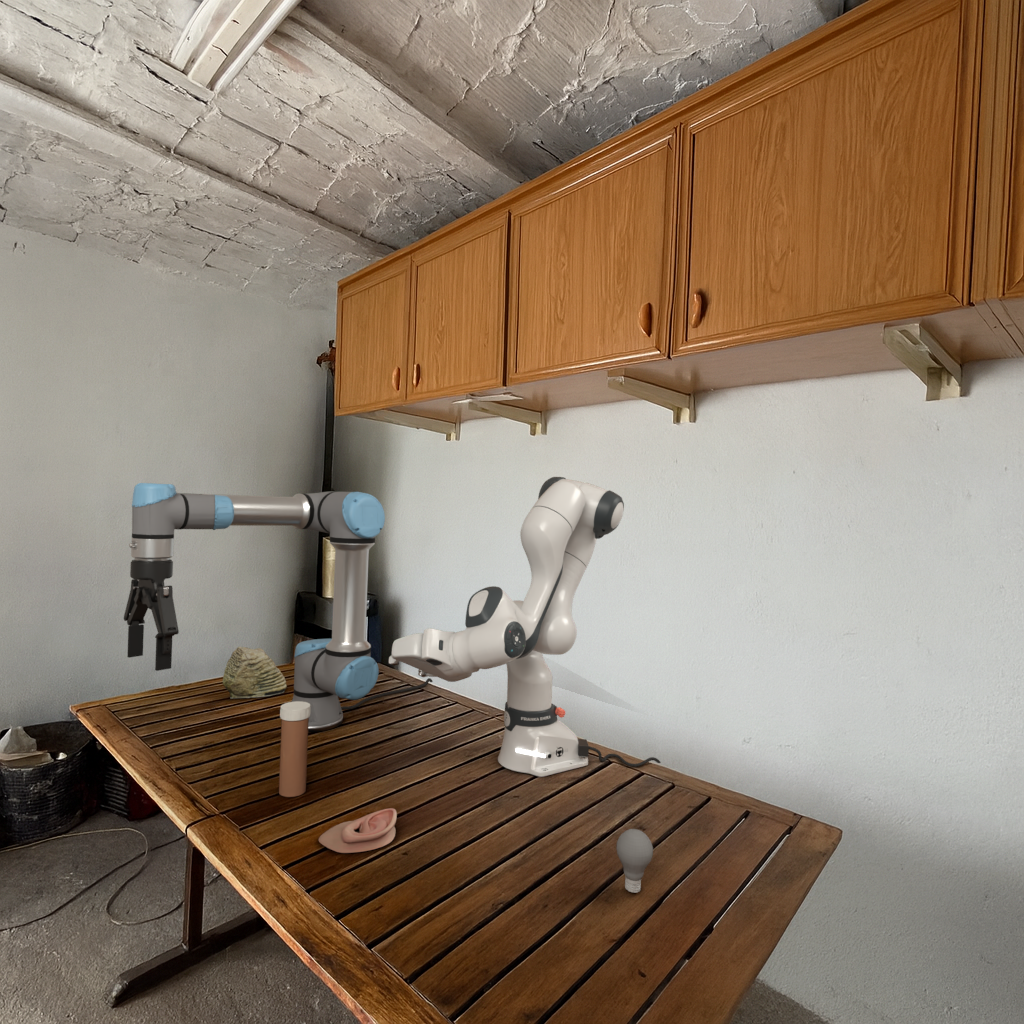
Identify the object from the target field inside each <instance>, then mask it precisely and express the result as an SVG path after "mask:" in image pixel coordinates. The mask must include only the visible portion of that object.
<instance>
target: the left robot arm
mask: <svg viewBox="0 0 1024 1024" xmlns="http://www.w3.org/2000/svg"><path fill="white" fill-rule="evenodd" d="M385 515H386V513H385V511H384V508H383V505H382V503H381V502H380V501H379V500H378V498H377V497H375V495H373V494H370V493H367V492H363V491H362V492H361V491H337V490H336V491H335V490H333V491H332V490H330V491H321V492H311V493H295V494H294V495H293V496H276V495H275V496H274V495H273V496H272V495H248V494H247V495H246V494H244V495H243V494H220V493H219V494H218V493H217V494H216V493H215V494H214V493H189V492H187V493H186V492H177V491H176V486H175V485H174V484H173V483H152V482H139V483H137V484H136V485H135V486H134V488H133V492H132V501H131V520H132V521H131V542H130V543H128V547H129V548H130V549H131V550H130V556H131V558H133V559H132V560H131V561H130V567H129V568H130V571H129V574H130V575H129V576H130V578H131V581H130V590H129V594H128V598H127V603H126V607H125V610H124V615H123V621H124V622H126V624H127V626H128V629H127V630H128V631H127V658H135V657H142V656H144V635H145V634H144V630H145V625H144V624H145V623H146V621H145V619H144V618H145V616H146V615H147V612H148V609H149V610H151V613H152V618H153V620H154V624H155V627H156V631H157V633H156V635H155V636H154V638H155V661H154V663H155V665H154V668H155V669H154V670H155V671H157V672H159V671H164V670H169V669H172V659H173V657H172V655H173V637H175V636H176V635H179V632H180V631H179V625H178V619H177V615H176V614H177V613H176V609H175V603H174V597H173V595H174V593H173V585H165V580H167V579H171V578H172V577H173V575H174V573H173V572H174V561H173V560H172V559H171V558H173V557H174V554H175V553H174V552H175V530H213V531H215V530H224V529H228V528H230V526H233V527H234V526H237V527H238V526H240V527H243V526H246V527H247V526H249V527H250V526H258V527H259V526H268V527H269V526H276V527H277V526H282V527H284V526H285V527H286V526H287V527H288V526H289V527H290V526H291V527H293V528H294V529H296V530H308V531H309V530H310V531H316V532H319V533H325V534H329V544H330V545H331V546H332V547H333V548H334V550H335V551H334V572H333V573H334V577H333V599H332V625H331V626H332V627H331V638H317V639H308V640H304V641H300V642H299V643H297V645H296V646H295V650H294V655H293V657H294V672H293V673H294V674H293V695H292V696H293V697H292V699H291V702H295V701H302V702H307V703H309V704H310V707H311V710H310V716H309V723H308V733H316V732H325V731H329V730H332V729H335V728H337V727H339V726H340V725H342V723H343V722H344V714H343V711H345V710H346V711H347V710H350V711H351V710H353V709H354V710H355V709H356V708H358V707H359V706H361V705H362V704H364V703H366V702H368V701H369V702H370V701H372V700H374V699H377V698H381V697H386V696H390V695H394V694H400V693H405V692H410V691H414V690H418V689H422V688H424V687H425V686H427V685H428V684H429V683H433V682H434V681H433V680H432V678H431V677H429V678H427V679H426V680H425V681H424V683H421V684H419V685H415V686H411V687H406V688H402V689H401V688H400V689H395V690H389V691H386V692H381V693H377V694H374V695H371V696H369V697H366V698H364V697H365V696H367V695H368V694H370V692H371V690H372V689H374V687H375V685H376V683H377V682H378V678H379V674H380V672H379V671H380V670H379V669H380V668H379V665H378V663H377V662H376V660H375V659H374V657H371V652H372V649H371V648H372V644H371V643H370V642H368V640H367V639H366V631H367V607H368V606H367V605H368V604H367V602H368V582H369V581H368V579H369V555H370V553H369V552H370V550H371V548H372V547H374V545H375V544H376V536H378V535H379V534H380V533H381V530H383V528H384V526H385V522H386V521H385V520H386V516H385ZM339 698H341V699H342V700H343V699H344V700H348V701H349V700H350V701H357V700H360V699H362V698H363V699H362V700H360V701H359V702H356V703H355V704H353V705H348V706H347V705H346V706H345V705H343V706H341V702H340V699H339Z"/></svg>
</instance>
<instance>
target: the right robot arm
mask: <svg viewBox="0 0 1024 1024" xmlns="http://www.w3.org/2000/svg"><path fill="white" fill-rule="evenodd" d="M624 510H625V503H624V500H623V497H622V496H620V495H619V494H618V493H616V492H614V491H613V490H611V489H610V490H607V489H605V488H602V487H600V486H597V485H594V484H592V483H589V482H583V481H579V480H574V479H568V478H566V477H565V476H564V477H563V476H552V477H549V478H548V479H547V480H545V481H544V482H543V483H542V485H541V486H540V489H539V493H538V498H537V500H536V502H535V503H534V504H533V506H532V507H531V509H530V511H529V512H528V514H527V515H526V516H525V518H524V520H523V521H522V524H521V528H520V531H519V532H520V535H519V536H520V541H521V542H520V543H521V545H522V548H523V551H524V553H525V555H526V558H527V561H528V564H529V568H530V574H531V581H530V585H529V587H528V590H527V592H526V595H525V597H524V599H523V600H519V599H517V600H514V599H512V598H511V597H510V596H509V594H507V593H506V592H505V590H503V589H502V587H500V586H495V585H493V586H486V587H484V588H481V589H478V591H476V592H474V593H472V595H471V596H470V598H469V599H468V603H467V607H466V612H465V623H464V625H465V629H463V630H460V631H456V632H455V631H447V630H446V631H445V630H442V629H441V630H440V629H437V628H432V627H429V628H426V629H424V630H423V633H422V632H421V633H420V632H418V633H412V634H408V635H405V636H402V637H400V638H397V639H395V640H394V641H393V643H392V646H391V655H390V656H389V657H388V664H389V665H392V666H398V665H400V662H401V663H402V664H405V665H408V666H410V667H413V668H415V669H417V671H418V673H417V675H418V676H419V677H422V678H427V677H429V678H439V679H441V680H444V681H446V682H450V683H456V682H459V681H463V680H466V679H468V678H470V677H472V675H473V673H477V672H479V671H480V670H489V669H493V668H498V667H501V666H504V665H505V666H506V672H507V690H506V701H505V704H504V711H503V712H504V713H503V726H504V731H503V737H502V743H501V746H500V750H499V754H498V756H497V762H498V763H499V764H500V765H501V767H503V768H505V769H508V770H509V771H510V770H511V771H513V772H516V773H517V772H518V773H524V774H530V775H532V776H535V777H540V778H543V777H547V776H550V775H556V774H559V773H563V772H567V771H570V770H571V771H572V770H575V769H578V768H579V769H580V768H582V767H586V766H589V752H590V751H594V752H595V753H597V755H598V759H599V761H600V762H602V763H604V762H606V761H607V760H608V759H609V758H611V757H612V758H616V759H618V760H619V761H620V762H622V764H624V765H625V766H627V767H631V768H638V767H641V766H644V765H645V764H648V763H649V762H651V761H654V762H656V763H657V764H661V761H660V759H658V758H657V757H654V756H651V757H648V758H646V759H645V760H643V761H641V762H638V763H631V762H628V761H626V760H625V759H624V758H623V757H622V756H621V755H618V754H616V753H608V754H606V755H605V756H604V757H603V755H602V752H601V751H600V749H598V748H597V747H593V746H590V745H589V742H588V740H587V738H585V739H584V738H578V737H577V734H576V733H575V732H574V731H573V730H572V729H571V728H569V727H568V726H567V725H566V724H564V722H562V721H561V720H560V719H559V718H561V719H562V718H564V717H565V716H566V710H565V709H564V708H563V707H558V706H557V705H555V704H553V703H552V700H553V678H554V677H553V673H552V670H551V669H550V667H549V666H548V664H547V662H546V661H545V658H544V655H549V656H550V655H551V656H552V655H553V656H555V655H557V656H558V655H560V656H561V655H564V654H567V653H568V652H569V651H570V650H571V649H572V648H573V646H574V645H575V642H576V640H577V635H578V632H577V631H578V630H577V625H576V622H575V620H574V617H573V602H574V598H575V594H576V592H577V590H578V587H579V585H580V583H581V581H582V579H583V577H584V575H585V572H586V570H587V568H588V566H589V564H590V562H591V559H592V556H593V554H594V552H595V548H596V544H597V541H598V540H600V539H602V538H603V537H604V536H606V535H609V534H611V533H612V532H614V531H615V530H616V529H617V528H618V527H619V525H620V523H621V521H622V519H623V517H624Z"/></svg>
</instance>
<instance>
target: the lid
mask: <svg viewBox="0 0 1024 1024" xmlns="http://www.w3.org/2000/svg"><path fill="white" fill-rule="evenodd" d="M310 710H311V707H310V704H309V703H307V702H302V701H295V702H292V701H289V702H284V703H283V704H281V705H280V709H279V718H280V719H283V720H286V721H299V720H304V719H306V718H308V717H309V716H310Z"/></svg>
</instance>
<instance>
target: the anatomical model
mask: <svg viewBox="0 0 1024 1024" xmlns="http://www.w3.org/2000/svg"><path fill="white" fill-rule="evenodd" d="M397 816H398V813H397V810H396V809H395V808H392V807H390V808H384V809H380V810H377V811H374V812H371V813H369V814H366V815H364V816H362V817H360V818H357V819H354V820H348V821H343V822H341V823H339V824H335V825H334V826H332V827H330V828H328V830H326V831H324V832H323V833H322V834H321V835H320V836H319V837H318V842H319V843H320V844H321V845H322V846H324V847H325V848H327V849H329V850H332V851H333V852H336V853H339V854H351V853H361V852H367V851H372V850H376V849H380V848H382V847H385V846H387V845H389V844H390V843H392V842H393V840H394V839H395V837H396V833H397V832H396V827H395V825H396V823H397V818H398V817H397Z"/></svg>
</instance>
